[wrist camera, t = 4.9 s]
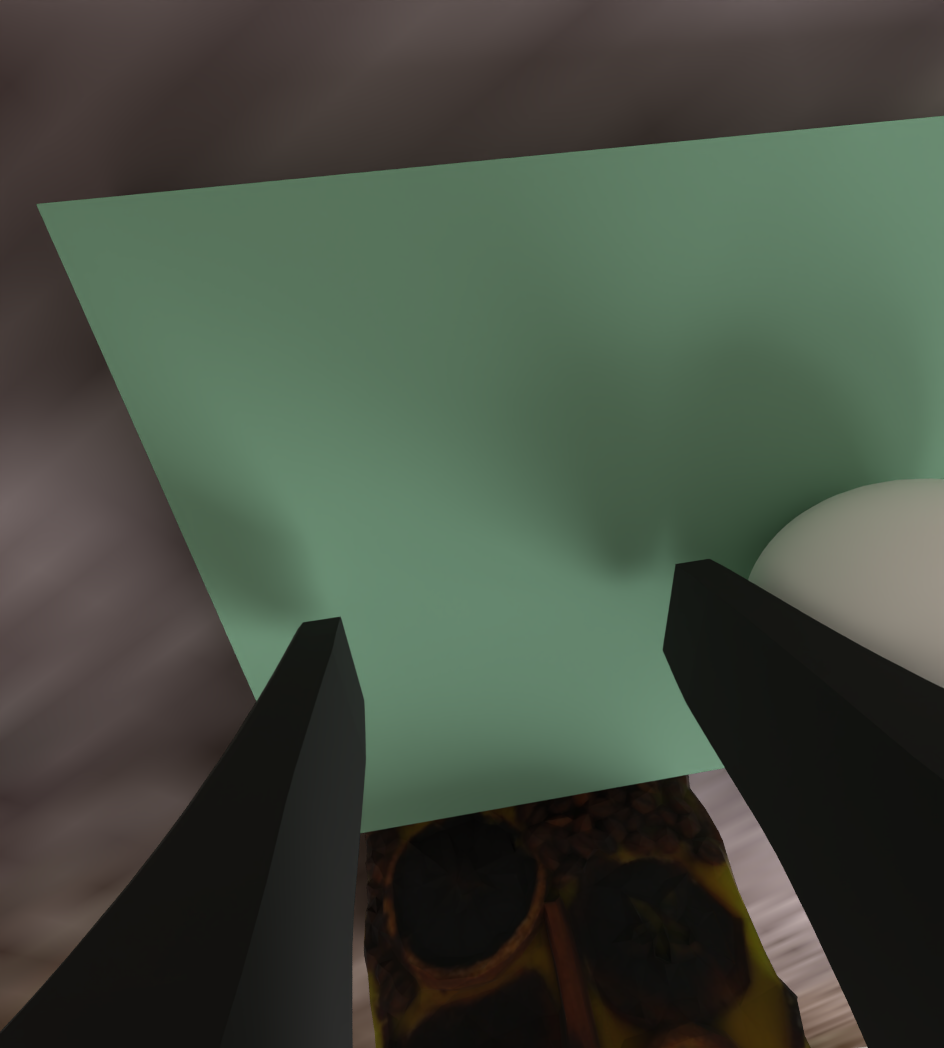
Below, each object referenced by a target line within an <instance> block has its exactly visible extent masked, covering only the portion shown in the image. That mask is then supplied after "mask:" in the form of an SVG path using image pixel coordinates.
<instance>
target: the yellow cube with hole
mask: <svg viewBox="0 0 944 1048" xmlns="http://www.w3.org/2000/svg"><path fill="white" fill-rule="evenodd" d="M365 840H366V846H367V861H366V868H367V874H368V884H367V896H368V908H367V911H366V920H365V937H364V957H365V962H366V967H367V972H368V980H369V992H370V1004H371V1011H372V1018H373V1025H374V1031H375V1043H376V1048H810V1046H809V1044H808V1042H807V1039H806V1037H805V1035H804V1030H803V1026H802V1021H801V1016H800V1011H799V1006H798V1002H797V998H798V997H797V996H796V995H795V994H794V993H793V992H792V991H791V990H790V989H789V988H788V986H787V985H786V984H785V983H784V982H783V981H782V980H781V979H780V978H779V977H778V976H777V974H776V973H775V971H774V969H773V967H772V965H771V963H770V961H769V959H768V957H767V955H766V953H765V951H764V948H763V946H762V944H761V941H760V939H759V937H758V934H757V932H756V930H755V928H754V925H753V923H752V921H751V918H750V916H749V914H748V911H747V909H746V907H745V905H744V902H743V900H742V898H741V895H740V893H739V891H738V888H737V885H736V882H735V879H734V876H733V873H732V870H731V866H730V863H729V860H728V857H727V854H726V850H725V847H724V843H723V840H722V838H721V836H720V834H719V831H718V830H717V828H716V826H715V825H714V823H713V821H712V819H711V818H710V816H709V814H708V813H707V811H706V809H705V807H704V806H703V805H702V804H701V802H700V801H699V800H698V798H697V797H696V796H695V794H694V793H693V792H692V790H691V789H690V785H689V776H688V775H683V776H677V777H672V778H666V779H661V780H655V781H649V782H644V783H638V784H633V785H627V786H622V787H616V788H610V789H605V790H599V791H594V792H588V793H582V794H577V795H571V796H566V797H560V798H555V799H549V800H543V801H538V802H532V803H527V804H521V805H515V806H510V807H504V808H499V809H493V810H488V811H482V812H476V813H471V814H465V815H460V816H454V817H448V818H443V819H437V820H432V821H426V822H421V823H415V824H409V825H404V826H398V827H393V828H387V829H382V830H376V831H370V832H366V839H365Z"/></svg>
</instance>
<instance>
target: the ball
mask: <svg viewBox="0 0 944 1048" xmlns="http://www.w3.org/2000/svg"><path fill="white" fill-rule="evenodd" d="M748 580H749V581H750V582H752V583H754V584H756V585H757V586H759V587H761V588H762V589H764V590H766V591H767V592H769V593H771V594H772V595H774V596H776V597H778V598H779V599H781V600H783V601H784V602H786V603H788V604H789V605H791V606H793V607H794V608H796V609H798V610H800V611H801V612H803V613H805V614H806V615H808V616H810V617H812V618H813V619H815V620H817V621H819V622H820V623H822V624H824V625H826V626H827V627H829V628H831V629H833V630H834V631H836V632H838V633H840V634H841V635H843V636H845V637H847V638H849V639H850V640H852V641H854V642H856V643H858V644H860V645H861V646H863V647H865V648H867V649H869V650H871V651H872V652H874V653H876V654H878V655H880V656H882V657H884V658H886V659H888V660H890V661H891V662H893V663H895V664H897V665H899V666H901V667H903V668H905V669H907V670H909V671H911V672H913V673H915V674H916V675H918V676H920V677H922V678H924V679H926V680H928V681H930V682H932V683H934V684H936V685H938V686H940V687H942V688H944V479H932V478H930V479H906V480H893V481H887V482H882V483H876V484H871V485H865V486H862V487H859V488H855V489H852V490H849V491H846V492H843V493H840V494H837V495H835V496H833V497H830V498H828V499H826V500H824V501H822V502H820V503H818V504H817V505H815V506H813V507H811V508H810V509H808V510H806V511H804V512H803V513H801V514H800V515H798V516H797V517H796V518H794V519H793V520H792V521H791V522H789V523H788V524H787V525H786V526H785V527H784V528H783V529H782V530H781V531H779V532H778V533H777V534H776V536H775V537H774V538H773V539H772V540H771V541H770V542H769V544H768V545H767V546H766V548H765V549H764V550H763V552H762V553H761V555H760V556H759V558H758V560H757V561H756V563H755V565H754V567H753V569H752V571H751V574H750V576H749V579H748Z"/></svg>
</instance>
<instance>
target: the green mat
mask: <svg viewBox="0 0 944 1048" xmlns="http://www.w3.org/2000/svg"><path fill="white" fill-rule="evenodd" d="M36 205H37V207H38V209H39V211H40V214H41V216H42V218H43V220H44V223H45V225H46V227H47V230H48V232H49V234H50V236H51V239H52V241H53V243H54V245H55V248H56V250H57V252H58V254H59V257H60V259H61V261H62V263H63V266H64V268H65V270H66V272H67V275H68V277H69V279H70V281H71V284H72V286H73V288H74V291H75V293H76V295H77V297H78V300H79V302H80V304H81V306H82V309H83V311H84V313H85V315H86V318H87V320H88V322H89V324H90V327H91V329H92V331H93V333H94V336H95V338H96V340H97V342H98V345H99V347H100V349H101V351H102V354H103V356H104V358H105V361H106V363H107V365H108V367H109V370H110V372H111V374H112V376H113V379H114V381H115V383H116V385H117V388H118V390H119V392H120V394H121V397H122V399H123V401H124V403H125V406H126V408H127V410H128V412H129V415H130V417H131V419H132V421H133V424H134V426H135V428H136V431H137V433H138V435H139V437H140V440H141V442H142V444H143V446H144V449H145V451H146V453H147V455H148V458H149V460H150V462H151V464H152V467H153V469H154V471H155V473H156V476H157V478H158V480H159V482H160V485H161V487H162V489H163V491H164V494H165V496H166V498H167V501H168V503H169V505H170V507H171V510H172V512H173V514H174V516H175V519H176V521H177V523H178V525H179V528H180V530H181V532H182V534H183V537H184V539H185V541H186V543H187V546H188V548H189V550H190V552H191V555H192V557H193V559H194V562H195V564H196V566H197V568H198V571H199V573H200V575H201V577H202V580H203V582H204V584H205V586H206V589H207V591H208V593H209V595H210V598H211V600H212V602H213V604H214V607H215V609H216V611H217V613H218V616H219V618H220V620H221V622H222V625H223V627H224V629H225V632H226V634H227V636H228V638H229V641H230V643H231V645H232V647H233V650H234V652H235V654H236V656H237V659H238V661H239V663H240V665H241V668H242V670H243V672H244V674H245V677H246V679H247V681H248V683H249V686H250V688H251V690H252V692H253V695H254V697H255V699H256V701H257V700H258V698H259V697H260V695H261V693H262V691H263V690H264V688H265V686H266V685H267V683H268V681H269V679H270V678H271V676H272V674H273V673H274V671H275V669H276V667H277V665H278V664H279V662H280V660H281V658H282V657H283V655H284V653H285V651H286V649H287V647H288V646H289V644H290V642H291V640H292V638H293V636H294V635H295V633H296V631H297V629H298V628H299V627H300V625H301V624H302V623H303V622H308V621H315V620H321V619H327V618H334V617H340V616H341V619H342V623H343V626H344V630H345V633H346V637H347V640H348V644H349V648H350V651H351V655H352V658H353V662H354V665H355V669H356V672H357V676H358V679H359V683H360V687H361V690H362V694H363V697H364V702H365V732H366V768H365V781H364V794H363V806H362V819H361V831H360V833H365V832H370V831H376V830H382V829H387V828H393V827H398V826H404V825H409V824H415V823H421V822H426V821H432V820H437V819H443V818H448V817H454V816H460V815H465V814H471V813H476V812H482V811H488V810H493V809H499V808H504V807H510V806H515V805H521V804H527V803H532V802H538V801H543V800H549V799H555V798H560V797H566V796H571V795H577V794H582V793H588V792H594V791H599V790H605V789H610V788H616V787H622V786H627V785H633V784H638V783H644V782H649V781H655V780H661V779H666V778H672V777H677V776H683V775H688V774H694V773H700V772H705V771H711V770H716V769H722V768H725V767H724V766H723V764H722V762H721V761H720V759H719V757H718V756H717V754H716V752H715V751H714V749H713V748H712V746H711V744H710V743H709V741H708V739H707V738H706V736H705V734H704V733H703V731H702V729H701V728H700V726H699V724H698V723H697V721H696V719H695V718H694V716H693V714H692V712H691V711H690V709H689V707H688V706H687V704H686V702H685V700H684V698H683V696H682V693H681V691H680V689H679V687H678V685H677V683H676V680H675V678H674V676H673V674H672V671H671V669H670V667H669V664H668V662H667V660H666V657H665V655H664V653H663V650H662V649H663V643H664V636H665V630H666V623H667V617H668V610H669V603H670V597H671V590H672V584H673V577H674V571H675V564H679V563H685V562H691V561H698V560H704V559H711V560H713V561H715V562H717V563H719V564H721V565H723V566H724V567H726V568H728V569H730V570H732V571H733V572H735V573H737V574H739V575H740V576H742V577H744V578H745V579H747V580H748V579H749V576H750V574H751V571H752V569H753V567H754V565H755V563H756V561H757V560H758V558H759V556H760V555H761V553H762V552H763V550H764V549H765V548H766V546H767V545H768V544H769V542H770V541H771V540H772V539H773V538H774V537H775V536H776V534H777V533H778V532H779V531H781V530H782V529H783V528H784V527H785V526H786V525H787V524H788V523H789V522H791V521H792V520H793V519H794V518H796V517H797V516H798V515H800V514H801V513H803V512H804V511H806V510H808V509H810V508H811V507H813V506H815V505H817V504H818V503H820V502H822V501H824V500H826V499H828V498H830V497H833V496H835V495H837V494H840V493H843V492H846V491H849V490H852V489H855V488H859V487H862V486H865V485H871V484H876V483H882V482H887V481H893V480H906V479H930V478H932V479H944V116H937V117H926V118H916V119H906V120H896V121H885V122H875V123H865V124H854V125H844V126H834V127H824V128H813V129H803V130H793V131H782V132H772V133H762V134H752V135H741V136H731V137H721V138H710V139H700V140H690V141H680V142H669V143H659V144H649V145H638V146H628V147H618V148H608V149H597V150H587V151H577V152H567V153H556V154H546V155H536V156H525V157H515V158H505V159H495V160H484V161H474V162H464V163H453V164H443V165H433V166H423V167H412V168H402V169H392V170H381V171H371V172H361V173H351V174H340V175H330V176H320V177H309V178H299V179H289V180H279V181H268V182H258V183H248V184H237V185H227V186H217V187H207V188H196V189H186V190H176V191H166V192H155V193H145V194H135V195H124V196H114V197H104V198H94V199H83V200H73V201H63V202H52V203H42V204H36Z"/></svg>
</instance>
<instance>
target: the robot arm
mask: <svg viewBox="0 0 944 1048" xmlns="http://www.w3.org/2000/svg"><path fill="white" fill-rule="evenodd" d="M662 650H663V653H664V655H665V657H666V660H667V662H668V664H669V667H670V669H671V671H672V674H673V676H674V678H675V680H676V683H677V685H678V687H679V689H680V691H681V693H682V696H683V698H684V700H685V702H686V704H687V706H688V707H689V709H690V711H691V712H692V714H693V716H694V718H695V719H696V721H697V723H698V724H699V726H700V728H701V729H702V731H703V733H704V734H705V736H706V738H707V739H708V741H709V743H710V744H711V746H712V748H713V749H714V751H715V752H716V754H717V756H718V757H719V759H720V761H721V762H722V764H723V766H724V767H725V769H726V770H727V772H728V774H729V775H730V777H731V779H732V780H733V782H734V783H735V785H736V787H737V788H738V790H739V792H740V793H741V795H742V797H743V798H744V800H745V802H746V803H747V805H748V806H749V808H750V810H751V811H752V813H753V815H754V816H755V818H756V820H757V821H758V823H759V824H760V826H761V828H762V829H763V831H764V833H765V835H766V837H767V838H768V840H769V842H770V844H771V846H772V847H773V849H774V851H775V853H776V854H777V856H778V858H779V860H780V862H781V864H782V866H783V868H784V870H785V872H786V874H787V876H788V878H789V880H790V882H791V884H792V886H793V888H794V890H795V892H796V894H797V896H798V898H799V900H800V902H801V904H802V906H803V908H804V910H805V912H806V915H807V917H808V919H809V921H810V923H811V925H812V927H813V929H814V931H815V933H816V935H817V937H818V939H819V942H820V944H821V946H822V948H823V950H824V952H825V954H826V957H827V959H828V961H829V963H830V965H831V967H832V969H833V971H834V974H835V976H836V978H837V980H838V982H839V984H840V986H841V989H842V991H843V993H844V995H845V997H846V999H847V1001H848V1004H849V1006H850V1008H851V1010H852V1013H853V1015H854V1017H855V1019H856V1022H857V1024H858V1026H859V1029H860V1031H861V1033H862V1035H863V1038H864V1040H865V1042H866V1044H867V1047H868V1048H944V688H942V687H940V686H938V685H936V684H934V683H932V682H930V681H928V680H926V679H924V678H922V677H920V676H918V675H916V674H915V673H913V672H911V671H909V670H907V669H905V668H903V667H901V666H899V665H897V664H895V663H893V662H891V661H890V660H888V659H886V658H884V657H882V656H880V655H878V654H876V653H874V652H872V651H871V650H869V649H867V648H865V647H863V646H861V645H860V644H858V643H856V642H854V641H852V640H850V639H849V638H847V637H845V636H843V635H841V634H840V633H838V632H836V631H834V630H833V629H831V628H829V627H827V626H826V625H824V624H822V623H820V622H819V621H817V620H815V619H813V618H812V617H810V616H808V615H806V614H805V613H803V612H801V611H800V610H798V609H796V608H794V607H793V606H791V605H789V604H788V603H786V602H784V601H783V600H781V599H779V598H778V597H776V596H774V595H772V594H771V593H769V592H767V591H766V590H764V589H762V588H761V587H759V586H757V585H756V584H754V583H752V582H750V581H749V580H747V579H745V578H744V577H742V576H740V575H739V574H737V573H735V572H733V571H732V570H730V569H728V568H726V567H724V566H723V565H721V564H719V563H717V562H715V561H713V560H711V559H704V560H698V561H691V562H685V563H679V564H675V571H674V577H673V584H672V590H671V597H670V603H669V610H668V617H667V623H666V630H665V636H664V643H663V649H662ZM365 768H366V732H365V702H364V697H363V694H362V690H361V687H360V683H359V679H358V676H357V672H356V669H355V665H354V662H353V658H352V655H351V651H350V648H349V644H348V640H347V637H346V633H345V630H344V626H343V623H342V619H341V616H340V617H334V618H327V619H321V620H315V621H308V622H303V623H302V624H301V625H300V627H299V628H298V629H297V631H296V633H295V635H294V636H293V638H292V640H291V642H290V644H289V646H288V647H287V649H286V651H285V653H284V655H283V657H282V658H281V660H280V662H279V664H278V665H277V667H276V669H275V671H274V673H273V674H272V676H271V678H270V679H269V681H268V683H267V685H266V686H265V688H264V690H263V691H262V693H261V695H260V697H259V698H258V700H257V701H256V703H255V705H254V706H253V708H252V709H251V711H250V713H249V714H248V716H247V718H246V719H245V721H244V722H243V724H242V726H241V727H240V729H239V731H238V732H237V734H236V735H235V737H234V739H233V740H232V742H231V743H230V745H229V746H228V748H227V749H226V751H225V752H224V754H223V755H222V757H221V758H220V760H219V761H218V763H217V764H216V766H215V767H214V768H213V770H212V771H211V773H210V774H209V776H208V777H207V779H206V780H205V782H204V783H203V785H202V786H201V787H200V789H199V790H198V792H197V793H196V795H195V796H194V798H193V799H192V801H191V802H190V803H189V805H188V806H187V808H186V809H185V810H184V812H183V813H182V815H181V816H180V817H179V819H178V820H177V821H176V823H175V824H174V825H173V827H172V828H171V830H170V831H169V832H168V834H167V835H166V836H165V838H164V839H163V840H162V841H161V843H160V844H159V845H158V847H157V848H156V849H155V851H154V852H153V853H152V855H151V856H150V857H149V858H148V860H147V861H146V862H145V863H144V865H143V866H142V867H141V869H140V870H139V871H138V872H137V874H136V875H135V876H134V877H133V879H132V880H131V881H130V883H129V884H128V885H127V886H126V888H125V889H124V890H123V891H122V893H121V894H120V895H119V896H118V897H117V899H116V900H115V901H114V902H113V903H112V905H111V906H110V907H109V908H108V909H107V911H106V912H105V913H104V914H103V915H102V916H101V918H100V919H99V920H98V921H97V922H96V924H95V925H94V926H93V927H92V928H91V930H90V931H89V932H88V933H87V934H86V936H85V937H84V938H83V939H82V940H81V942H80V943H79V944H78V945H77V946H76V948H75V949H74V950H73V951H72V952H71V953H70V955H69V956H68V957H67V958H66V959H65V960H64V962H63V963H62V964H61V965H60V966H59V967H58V968H57V970H56V971H55V972H54V973H53V974H52V975H51V976H50V978H49V979H48V980H47V981H46V982H45V983H44V984H43V986H42V987H41V988H40V989H39V990H38V991H37V992H36V993H35V995H34V996H33V997H32V998H31V999H30V1000H29V1001H28V1002H27V1004H26V1005H25V1006H24V1007H23V1008H22V1009H21V1010H20V1011H19V1012H18V1013H17V1014H16V1015H15V1016H14V1018H13V1019H12V1020H11V1021H10V1022H9V1023H8V1024H7V1025H6V1026H5V1027H4V1028H3V1029H2V1030H1V1032H0V1048H353V1047H352V940H353V919H354V902H355V890H356V878H357V866H358V854H359V842H360V831H361V819H362V806H363V794H364V781H365Z"/></svg>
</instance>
